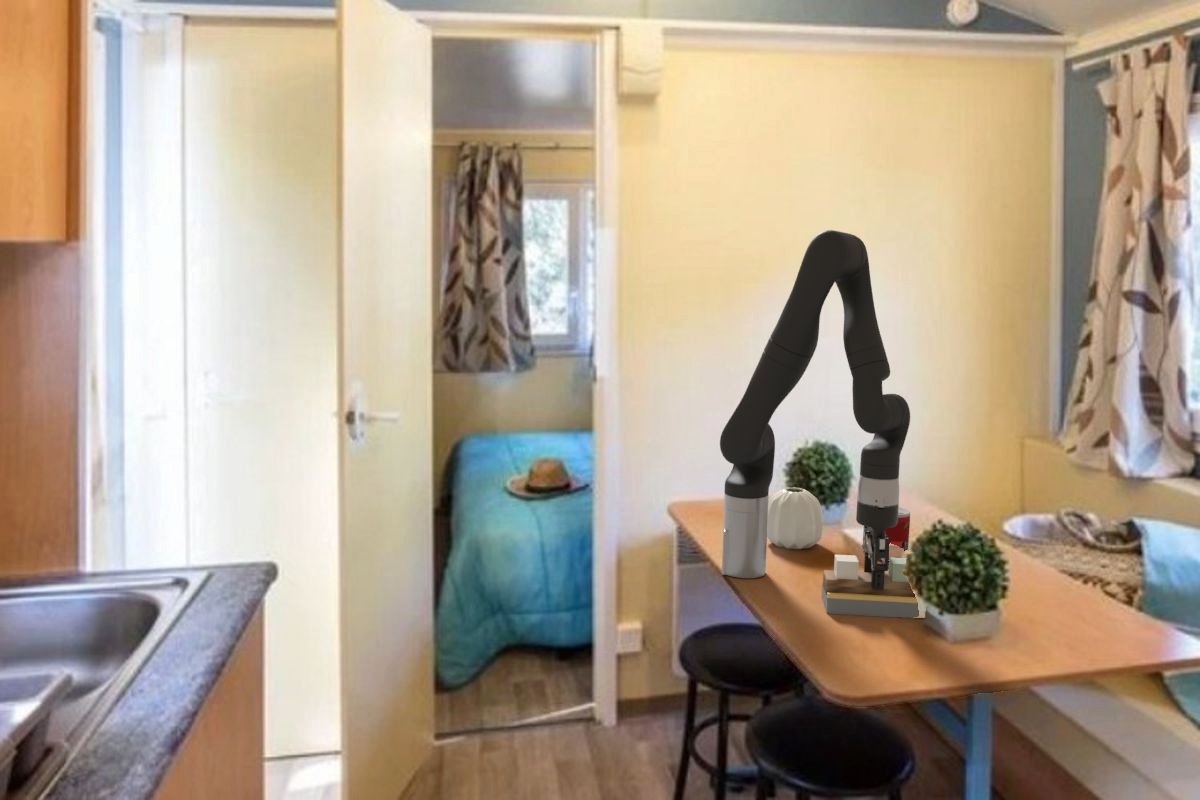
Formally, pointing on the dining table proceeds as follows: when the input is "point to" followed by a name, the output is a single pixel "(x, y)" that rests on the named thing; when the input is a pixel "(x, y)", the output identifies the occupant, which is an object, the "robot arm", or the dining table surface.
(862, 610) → the block
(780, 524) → the vase
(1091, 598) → the dining table surface
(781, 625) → the dining table surface
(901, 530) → the canned food
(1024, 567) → the dining table surface
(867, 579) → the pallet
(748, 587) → the dining table surface
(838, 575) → the block
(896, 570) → the block
